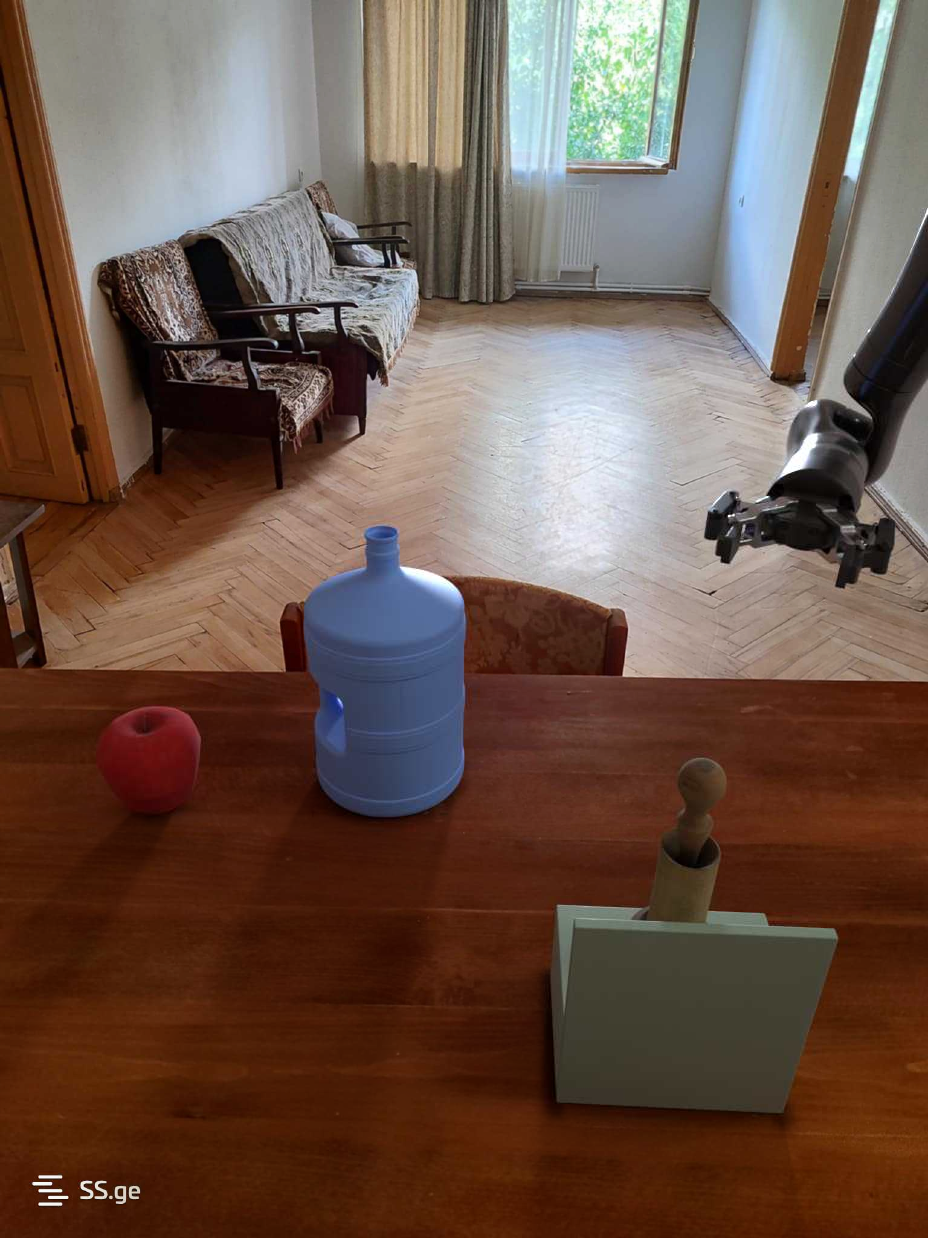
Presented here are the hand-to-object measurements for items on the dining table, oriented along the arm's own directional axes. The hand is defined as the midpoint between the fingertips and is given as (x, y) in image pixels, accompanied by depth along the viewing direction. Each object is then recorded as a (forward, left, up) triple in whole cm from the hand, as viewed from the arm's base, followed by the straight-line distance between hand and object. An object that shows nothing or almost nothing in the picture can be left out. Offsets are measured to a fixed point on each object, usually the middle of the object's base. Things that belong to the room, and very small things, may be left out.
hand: (783, 564), depth 67 cm
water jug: (+32, -13, -32) cm, 47 cm away
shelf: (+8, +17, -32) cm, 37 cm away
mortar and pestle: (+8, +17, -24) cm, 31 cm away
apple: (+55, -7, -32) cm, 64 cm away
